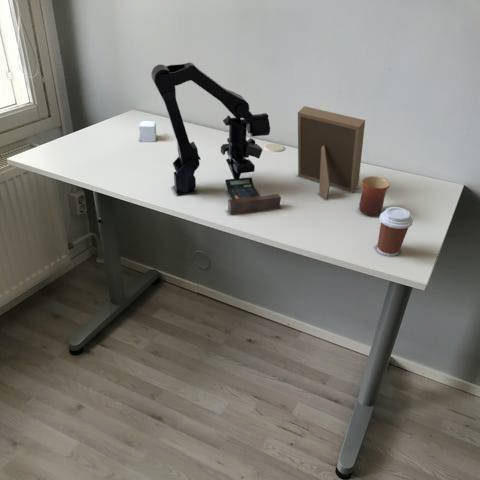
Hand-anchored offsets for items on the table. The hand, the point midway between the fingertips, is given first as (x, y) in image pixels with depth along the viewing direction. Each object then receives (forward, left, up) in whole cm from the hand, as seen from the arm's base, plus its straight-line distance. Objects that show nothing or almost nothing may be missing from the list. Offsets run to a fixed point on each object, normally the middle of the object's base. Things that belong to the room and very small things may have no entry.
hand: (236, 181), depth 171 cm
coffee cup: (+29, -52, -2) cm, 60 cm away
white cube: (-22, +52, -2) cm, 56 cm away
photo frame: (+28, -9, -2) cm, 30 cm away
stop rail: (0, -19, -1) cm, 19 cm away
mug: (+37, -29, -2) cm, 48 cm away
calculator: (0, -7, -2) cm, 7 cm away
